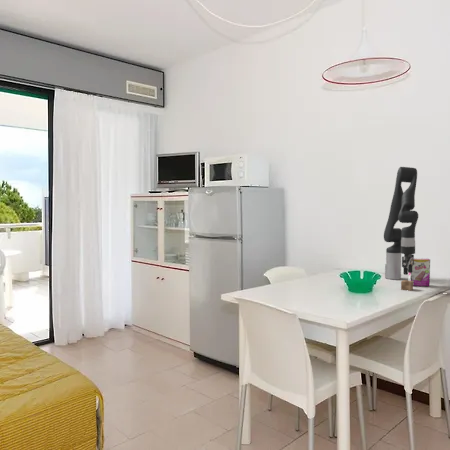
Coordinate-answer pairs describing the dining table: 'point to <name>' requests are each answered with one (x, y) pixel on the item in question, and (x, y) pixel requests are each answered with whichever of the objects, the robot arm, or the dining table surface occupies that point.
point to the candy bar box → (420, 272)
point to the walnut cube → (407, 285)
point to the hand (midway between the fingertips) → (407, 273)
